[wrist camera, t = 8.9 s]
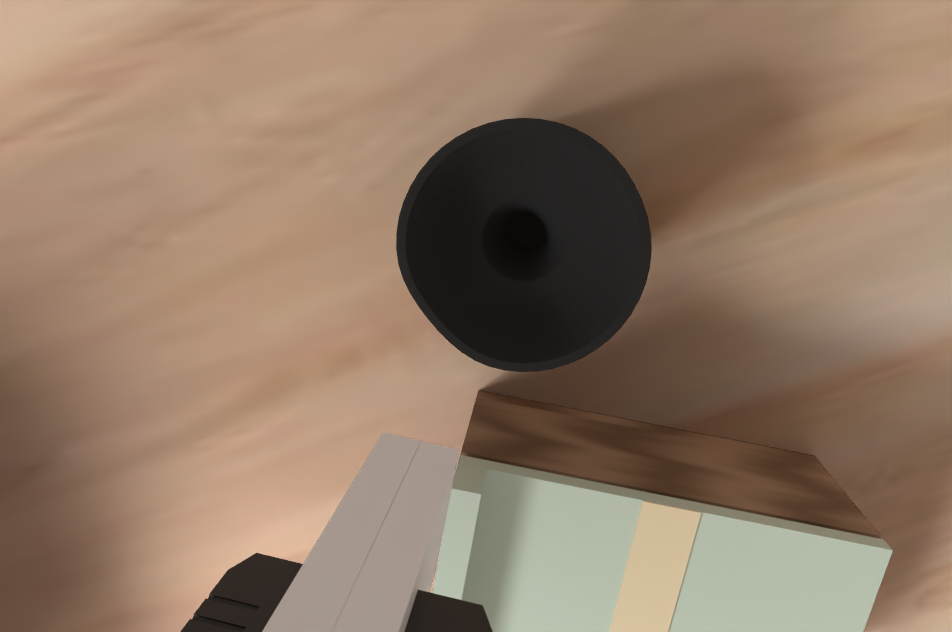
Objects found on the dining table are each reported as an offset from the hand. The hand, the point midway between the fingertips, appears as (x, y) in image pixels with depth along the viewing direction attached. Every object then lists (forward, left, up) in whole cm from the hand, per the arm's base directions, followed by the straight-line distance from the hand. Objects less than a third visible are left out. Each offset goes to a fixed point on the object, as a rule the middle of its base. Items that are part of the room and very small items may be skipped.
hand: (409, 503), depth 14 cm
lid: (+9, -13, -16) cm, 22 cm away
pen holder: (+1, +3, -24) cm, 24 cm away
